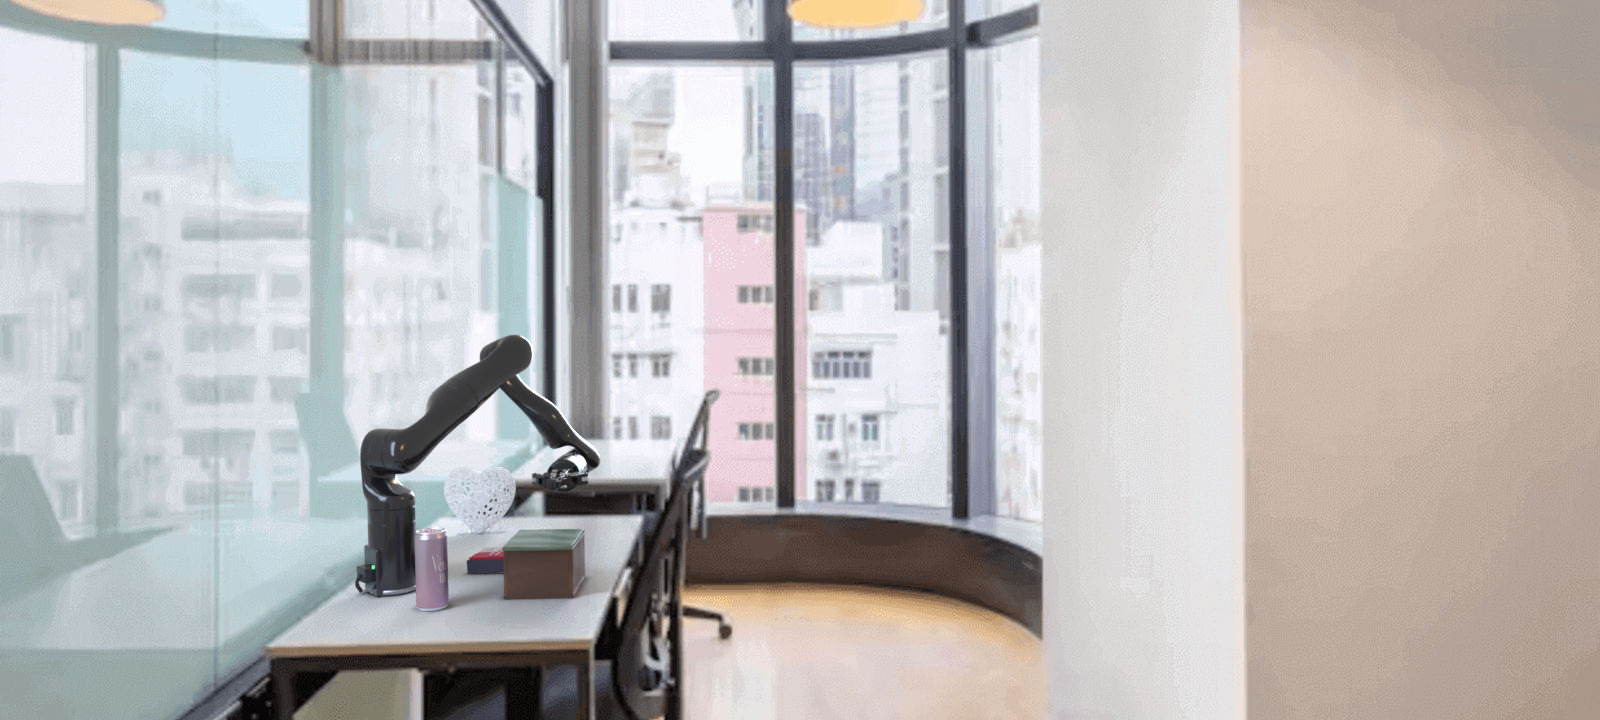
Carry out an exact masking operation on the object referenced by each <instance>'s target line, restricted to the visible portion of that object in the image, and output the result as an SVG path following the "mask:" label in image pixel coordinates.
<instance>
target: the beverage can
mask: <svg viewBox="0 0 1600 720" xmlns="http://www.w3.org/2000/svg"><path fill="white" fill-rule="evenodd" d="M415 533H416V535H415V579H416V590H415V607H416V608H417V610H419V611H422V612H436V611H440V610H444V609H446V608H447V607H448V604H449V603H450V598H449V597H450V596H449V595H450V594H449V591H450V590H449V556H448V555H449V551H448V550H449V547H448V545H449V544H448V543H449V542H448V533H447V529H446V528H443V527H425V528H420V529H416V532H415Z"/></svg>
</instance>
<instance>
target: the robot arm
mask: <svg viewBox="0 0 1600 720" xmlns="http://www.w3.org/2000/svg"><path fill="white" fill-rule="evenodd" d="M533 358H534V350H533V346H532V344H531V342H530V341H529V339H527V338H526V337H524V336H522V335H519V334H508V335H505V336H502V337H500V338H498V339H496V340H494V341H491V342H489V343H487V344H486V345H484V346H483V347H482V348H481V350H480V352H479V361H478V362H476V363H474V364H472V365H470V366H468V367H466V368H463V370H460V371H459V372H457V373H456V374H454V375H452V376H450V377H449V378H448V379H446V380H445V381H444V382H443V383H441V384H440V385H439V386H438V387H436V388H435V389H434V390H433V391H432V392H431V394H430V395H429V396H428V399H427V401H426V405H425V412H424V414H423V416H422V417H421V418H419V419H418V420H417V421H415V422H414V423H413V424H411V425H409V426H408V427H405V428H383V427H382V428H380V427H378V428H373V429H371V430H369V431H368V432H367V433H366V434H364V435H365V436H363V439H362V441H361V445H360V451H359V452H360V453H359V461H360V463H359V464H360V475H361V487H362V494H363V497H364V498H365V502H366V513H367V544H365V545H364V547H363V548H364V549H363V552H364V553H363V554H364V564H362V565H361V564H360V565H356V578H355V580H354V586H355V588H356V590H357V592H359V594H360V593H361V594H362V593H363V592H364V590H363V588H362V587H361V585H360V582H361V583H363V584H364V589H365V592H366V593H369V594H371V595H373V596H375V597H383V596H398V595H403V594H407V593H411V592H413V591H416V579H415V535H416V533H415V532H416V531H417V529H416V528H417V523H416V521H417V519H416V495H415V492H414V491H413V490H411V489H410V488H408V487H406V486H405V485H404V484H403V483H402V482H401V481H400V480H399V478H398V476H400V475H402V476H403V475H406V474H410V473H412V472H414V470H416V469H417V468H418V467H420V466H421V465H422V463H423V462H424V461H425V460H427V458H428V457H429V455H430V454H432V452H433V451H434V450H435V449H436V448H437V446H438V445H439V444H441V442H442V441H443V440H445V439H446V438H447V437H448V436H449V435H450V434H451V433H452V432H453V431H454V430H455V429H456V428H458V427H459V426H460V425H461V424H462V423H464V422H465V421H466V420H467V419H468V418H470V417H471V416H472V415H473V414H474V413H475V412H477V410H479V409H480V407H482V406H483V405H484V404H485V403H486V402H487V401H488V400H489V399H491V397H492V396H493V395H494V394H496V392H497V391H498V390H499V389H500V390H501V391H502V392H503V393H504V394H505V395H506V396H507V397H508V398H509V399H510V400H511V402H513V403H514V404H515V405H516V407H518V408H519V410H521V412H523V414H524V415H525V416H526V417H527V419H529V421H530V422H531V424H532V425H533V426H534V427H535V429H536V431H537V432H538V434H539V435H540V436H541V438H542V439H543V441H544V442H545V443H546V445H547V446H548V447H549V448H550V449H551V450H557V449H561V448H564V447H572V448H571V449H570V450H568V451H567V452H565V453H563V454H562V455H560V456H559V457H558V458H556V460H555V461H553V462H552V463H551V464H550V466H549V467H548V468H547V471H546V472H544V473H537V472H533V473H531V485H532V486H536V487H539V488H544V489H549V491H557V492H559V493H567V492H572V490H574V489H576V488H577V487H579V486H585V485H588V484H589V473H591V472H593V471H594V470H596V469H597V468H598V467H599V466H600V464H601V456H600V454H599V451H598V450H597V449H596V448H595V447H594V446H593V445H592V444H591V443H589V442H588V441H587V440H585V439H584V438H583V437H582V436H581V435H579V433H577V432H576V431H575V429H574V428H573V427H572V426H571V424H570V423H569V421H568V420H567V419H566V417H565V416H564V414H563V413H562V411H561V410H560V409H559V408H558V407H557V406H556V405H555V404H554V403H553V402H551V401H550V400H548V399H547V398H545V397H544V396H543V395H541V394H539V393H538V392H537V391H535V390H533V389H532V388H530V387H529V386H528V385H527V384H526V383H525V382H524V381H523V379H521V377H520V375H519V374H521V373H522V372H524V371H526V370H527V369H528V368H529V367H530V365H531V364H532V361H533Z"/></svg>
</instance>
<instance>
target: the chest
mask: <svg viewBox="0 0 1600 720" xmlns="http://www.w3.org/2000/svg"><path fill="white" fill-rule="evenodd" d="M585 546H586V545H585V533H584V534H583V535H582V536H581V538H580V539H579V541H578V542H577V543H576V545H575V546H574V547H573V549H572V550H534V551H503V560H504V572H503V599H504V600H531V599H533V600H534V599H535V600H536V599H573V598H574V597H575V596H576V594H577V592H578V591H579V589H580V588H581V586H582V584H583V582H584V581H585V579H586V551H585V550H586V549H585Z"/></svg>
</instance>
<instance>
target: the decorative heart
mask: <svg viewBox="0 0 1600 720" xmlns="http://www.w3.org/2000/svg"><path fill="white" fill-rule="evenodd" d="M497 476H498V477H497ZM462 483H463V484H462ZM467 488H468V489H469V490H468V489H467ZM504 489H505V490H504ZM516 490H517V485H516V480H515V477H514V475H513V474H512V472H511V471H509V470H508V469H507V468H505V467H502V466H489V467H487V468H484V470H482V471H480V470H477V469H475V468H472V467H467V466H460V467H457V468H455V469H453V470H450V472H449V473H448V474H447V476H446V478H445V480H444V484H443V494H444V499H445V501H446V503H447V506H448V507H449V509H450V510H451V512H452V513H453V515H454V516H455V517H456V518H457V519H458V520H460V521H461V523H460V535H464V525H465V526H467V527H468V534H472V530H473V531H474V532H476V533H477V534H483V533H486V531H487V530H488V529H489V533H491V534H492V533H494V532H493V526H494V525H496V524H497V523H498V533H502V521H501V519H502V518H503V517H504V516H505V514H507V512H508V511H509V510H510V508H511V506H512V504H513V502H514V499H515V497H516ZM465 493H466V494H465ZM494 494H495V495H494ZM491 499H492V501H490V500H491ZM490 509H491V510H490ZM484 513H485V514H484Z"/></svg>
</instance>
